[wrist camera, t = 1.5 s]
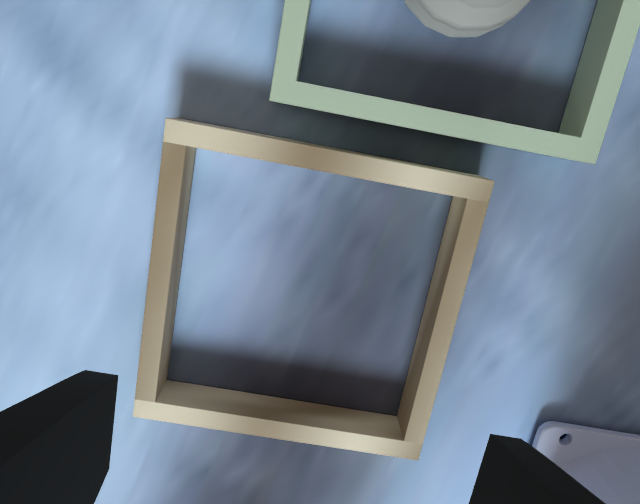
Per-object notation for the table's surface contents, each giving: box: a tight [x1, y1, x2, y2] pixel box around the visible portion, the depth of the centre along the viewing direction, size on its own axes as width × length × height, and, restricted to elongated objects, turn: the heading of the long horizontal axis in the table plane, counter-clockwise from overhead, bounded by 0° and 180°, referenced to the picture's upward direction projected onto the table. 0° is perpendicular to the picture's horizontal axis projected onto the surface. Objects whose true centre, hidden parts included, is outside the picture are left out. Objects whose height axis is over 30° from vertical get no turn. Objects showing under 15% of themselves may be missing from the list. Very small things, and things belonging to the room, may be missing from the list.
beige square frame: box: [133, 118, 494, 460], centre depth 18 cm, size 10×10×2 cm
